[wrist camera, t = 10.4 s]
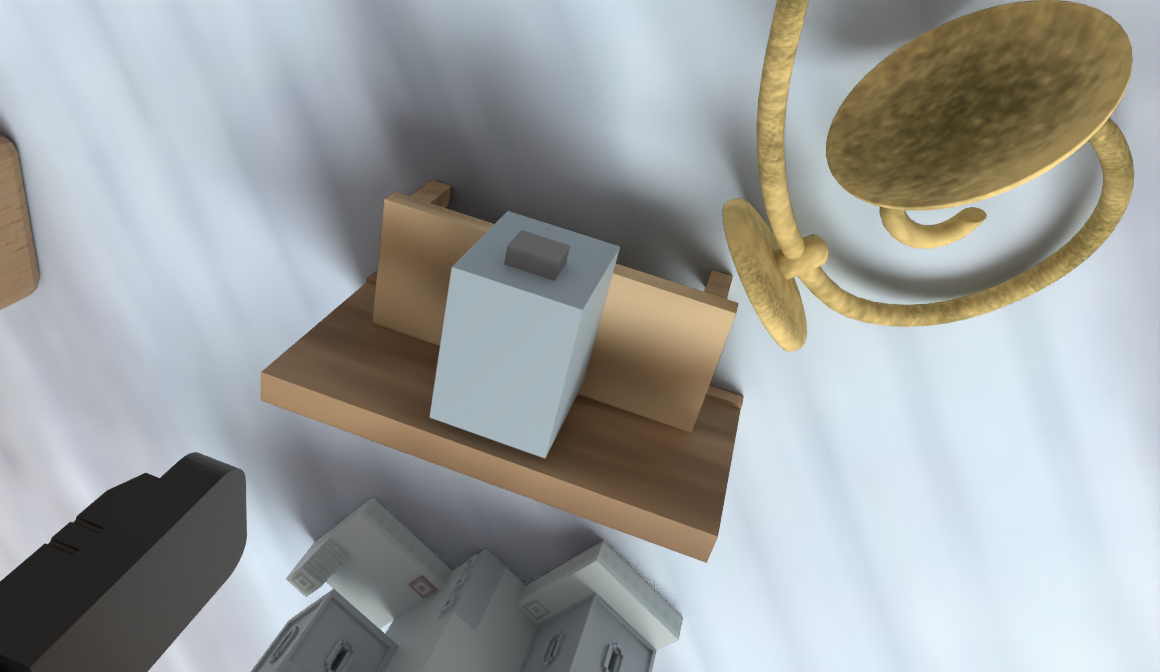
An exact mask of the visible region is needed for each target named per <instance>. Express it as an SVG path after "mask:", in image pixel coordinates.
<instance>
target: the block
mask: <svg viewBox="0 0 1160 672" xmlns="http://www.w3.org/2000/svg"><path fill="white" fill-rule="evenodd" d="M39 280H40V277H39V271H38V266H37V260H36V254H35V248H34V243H33V237H32V231H31V225H30V219H29V214H28V208H27V202H26V196H25V191H24V185H23V179H22V173H21V168H20V162H19V156H18V152H17V150H16V148H15V147H14V145H13V143H12V142H11V141H10V140H8V139H7V138H6V137H4V136H1V135H0V310H1V309H3V308H5V307H7V306H9V305H11V304H13V303H15V302H17V301H19V300H21V299H23V298H25V297H27V296H29V295H31V294H32V293H33V292H34V291H35V290H36V289H37V287H38V284H39Z"/></svg>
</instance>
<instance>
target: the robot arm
mask: <svg viewBox="0 0 1160 672" xmlns="http://www.w3.org/2000/svg"><path fill="white" fill-rule="evenodd" d="M246 539H247V522H246V479H245V474H244V472H243V471H242V470H241V469H239V468H236V467H234V466H231V465H228V464H226V463H223V462H221V461H218V460H216V459H213V458H211V457H208V456H205V455H203V454H200V453H197V452H194V453H190V454H188V455H186V456H185V457H183V458H182V459H181V460H179V461H178V462H177V463H176V464H175V465H174V466H173V467H172V468H171V469H169V470H168V471H167V472H166V473H165V474H164V475H163V476H162V477H161V478H158V477H155V476H153V475H150V474H148V473H144V474H142V475H140V476H138V477H135V478H133V479H131V480H129V481H127V482H125V483H122V484H120V485H118V486H116V487H114V488H111V489H109V490H107V491H106V492H105V493H104V494H102V495H101V496H100V497H99V498H98V499H97V500H95V501H94V502H93V503H92V504H91V505H89V506H88V507H87V508H86V509H85V510H84V511H82V512H81V513H80V514H79V515H78V516H77V517H76V520H75V521H74V522H73V523H72V522H70V523H68V524H67V525H66V526H65V527H64V528H62V529H61V530H60V531H59V532H58V533H57V534H55V535H54V536H53V537H52V538H51V541H50V543H49V544H44V545H43V546H41V547H40V548H39V549H38V550H37V551H36V552H34V553H33V554H32V555H31V556H30V557H28V558H27V559H26V560H25V561H24V562H23V563H21V564H20V565H19V566H18V567H17V568H16V569H14V570H13V571H12V572H11V573H10V574H9V575H7V576H6V577H5V578H4V579H3V580H2V581H0V672H148V670H149V669H150V668H151V667H152V666H153V665H154V664H155V662H156V661H157V660H158V659H159V658H160V657H161V655H162V654H163V653H164V652H165V651H166V650H167V649H168V647H169V646H170V645H171V644H172V643H173V642H174V640H175V639H176V638H177V637H178V636H179V635H180V633H181V632H182V631H183V630H184V629H185V628H186V627H187V625H188V624H189V623H190V622H191V621H192V620H193V618H194V617H195V616H196V615H197V614H198V613H199V611H200V610H201V609H202V608H203V607H204V606H205V605H206V603H207V602H208V601H209V600H210V599H211V598H212V596H213V595H214V594H215V593H216V592H217V591H218V589H219V588H220V587H221V586H222V585H223V584H224V583H225V581H226V580H227V579H228V578H229V577H230V575H231V574H232V572H233V571H234V569H235V568H236V566H237V564H238V562H239V561H240V558H241V556H242V554H243V551H244V548H245V545H246Z"/></svg>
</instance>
